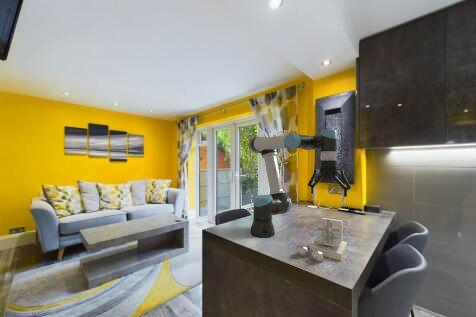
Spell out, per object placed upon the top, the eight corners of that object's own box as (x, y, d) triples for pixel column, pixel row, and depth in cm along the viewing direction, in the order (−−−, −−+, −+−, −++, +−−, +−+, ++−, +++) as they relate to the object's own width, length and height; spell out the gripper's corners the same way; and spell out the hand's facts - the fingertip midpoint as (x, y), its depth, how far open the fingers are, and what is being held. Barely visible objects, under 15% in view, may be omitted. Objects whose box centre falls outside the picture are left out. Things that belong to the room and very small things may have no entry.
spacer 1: (295, 255, 95) (295, 247, 95) (299, 252, 99) (299, 243, 99) (306, 258, 92) (306, 249, 92) (309, 254, 96) (309, 246, 96)
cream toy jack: (342, 244, 95) (342, 223, 95) (320, 242, 97) (320, 221, 97) (336, 236, 105) (336, 217, 105) (316, 235, 107) (316, 216, 107)
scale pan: (314, 242, 99) (314, 240, 99) (319, 235, 108) (319, 234, 108) (338, 247, 93) (338, 245, 93) (342, 240, 102) (342, 238, 102)
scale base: (309, 252, 99) (310, 223, 99) (319, 241, 113) (319, 216, 114) (341, 260, 90) (341, 229, 91) (347, 247, 105) (347, 220, 105)
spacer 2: (310, 260, 90) (310, 251, 90) (313, 256, 94) (313, 248, 94) (321, 264, 87) (321, 254, 87) (324, 259, 91) (324, 250, 91)
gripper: (301, 159, 106) (301, 199, 106) (355, 159, 92) (355, 206, 91) (306, 160, 112) (305, 198, 112) (357, 160, 98) (357, 203, 97)
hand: (328, 201), depth 101 cm, fingers open, 13 cm apart
